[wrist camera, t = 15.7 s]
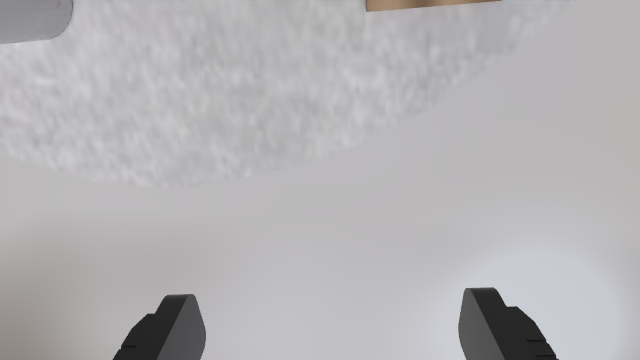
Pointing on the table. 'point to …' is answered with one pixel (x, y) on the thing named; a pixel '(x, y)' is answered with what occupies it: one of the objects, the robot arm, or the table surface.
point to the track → (413, 3)
